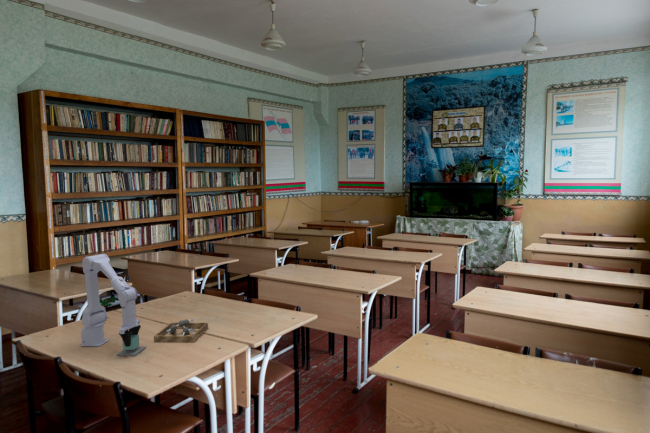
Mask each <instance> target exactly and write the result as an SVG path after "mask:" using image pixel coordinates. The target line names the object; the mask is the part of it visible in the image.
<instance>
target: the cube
mask: <svg viewBox="0 0 650 433" xmlns="http://www.w3.org/2000/svg"><path fill="white" fill-rule="evenodd" d="M137 347H140V335H139V334H138V335H132V336H131V345H130V346H129V347H126V346H125V344H124V342H123V341H122V350H134V349H135V348H137Z"/></svg>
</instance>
